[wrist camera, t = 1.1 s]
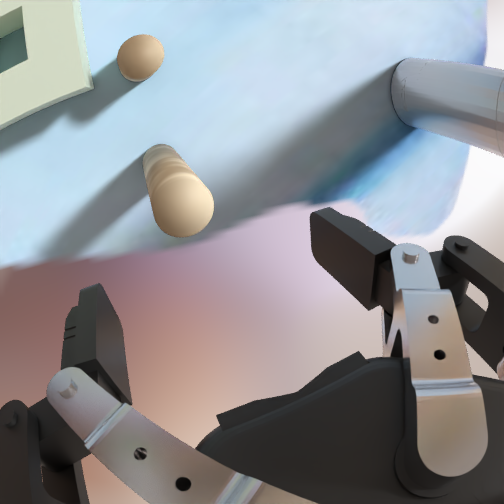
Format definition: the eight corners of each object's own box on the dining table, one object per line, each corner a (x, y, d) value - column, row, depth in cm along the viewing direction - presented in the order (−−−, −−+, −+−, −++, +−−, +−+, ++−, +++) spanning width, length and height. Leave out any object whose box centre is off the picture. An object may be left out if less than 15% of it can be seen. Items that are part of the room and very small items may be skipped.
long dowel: (174, 139, 25) (207, 171, 15) (182, 173, 27) (219, 226, 17) (138, 150, 24) (145, 190, 14) (147, 184, 26) (162, 245, 16)
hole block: (76, -29, 14) (68, -52, 10) (94, 88, 20) (86, 86, 16) (-41, 29, 11) (-67, 22, 7) (-23, 143, 17) (-49, 155, 13)
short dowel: (154, 42, 20) (160, 29, 16) (160, 76, 22) (167, 71, 18) (116, 51, 19) (113, 41, 15) (123, 86, 21) (121, 83, 17)
